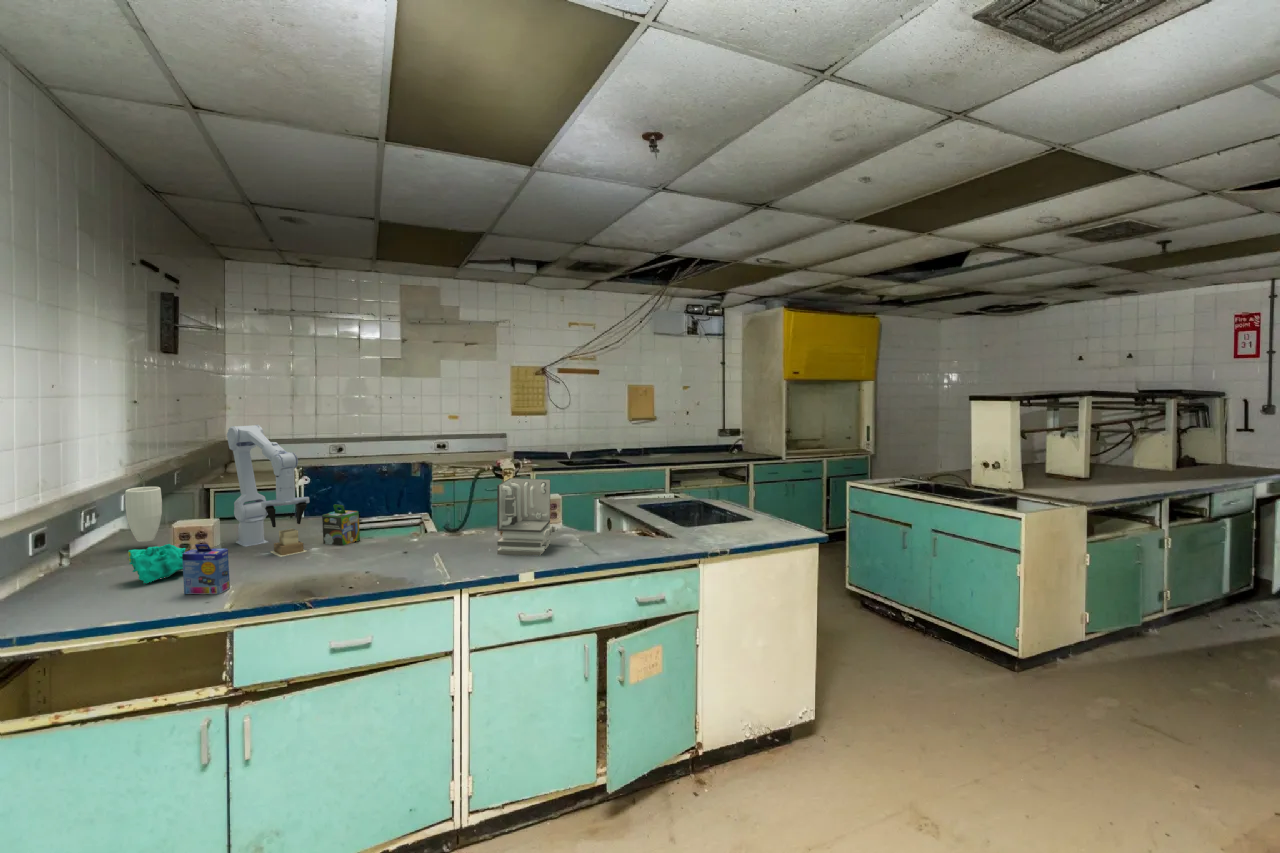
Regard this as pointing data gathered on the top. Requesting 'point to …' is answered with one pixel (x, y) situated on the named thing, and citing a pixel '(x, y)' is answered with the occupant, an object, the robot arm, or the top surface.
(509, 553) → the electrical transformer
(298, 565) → the top surface
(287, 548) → the brown square wooden block
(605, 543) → the top surface
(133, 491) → the cup
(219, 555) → the ink cartridge box
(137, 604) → the top surface
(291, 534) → the maple cube
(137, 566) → the teal lumpy piece
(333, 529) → the chalk box
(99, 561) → the top surface
